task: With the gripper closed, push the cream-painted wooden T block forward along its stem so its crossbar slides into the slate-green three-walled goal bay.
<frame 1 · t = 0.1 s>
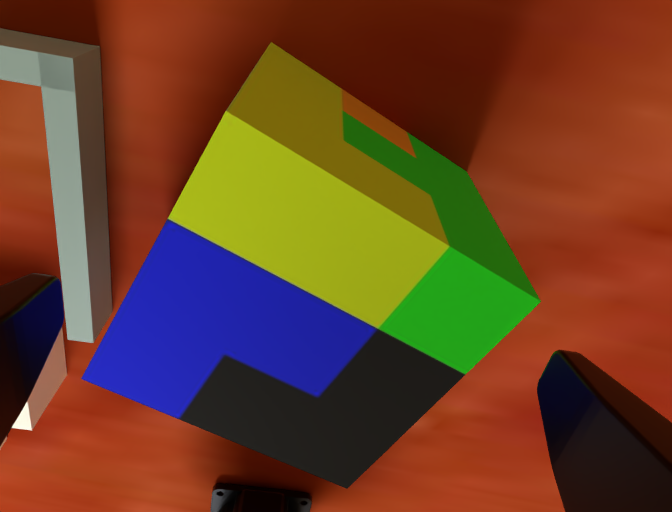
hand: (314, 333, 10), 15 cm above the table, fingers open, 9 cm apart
puzzle toy: (312, 199, 25), on the table
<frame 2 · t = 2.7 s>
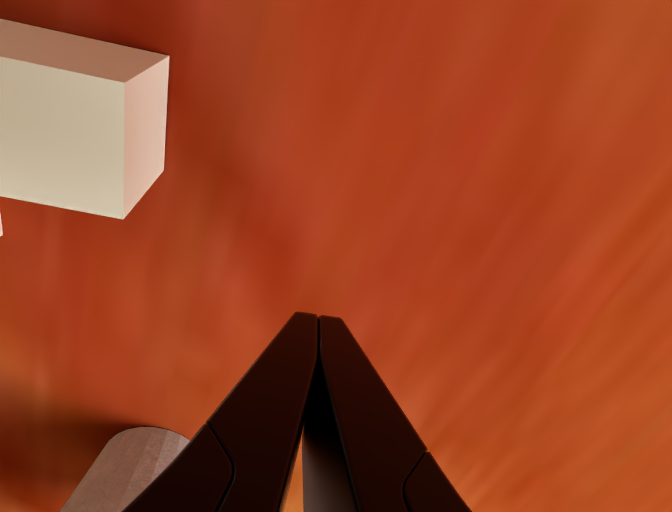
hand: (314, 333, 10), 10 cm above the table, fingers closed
house plant: (171, 445, 27), on the table
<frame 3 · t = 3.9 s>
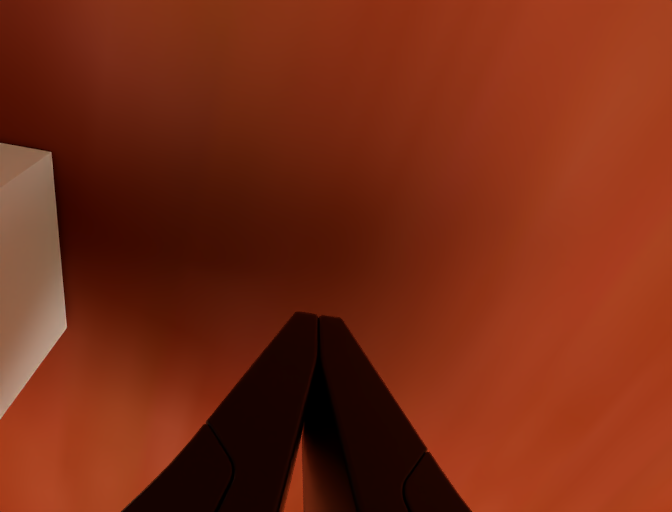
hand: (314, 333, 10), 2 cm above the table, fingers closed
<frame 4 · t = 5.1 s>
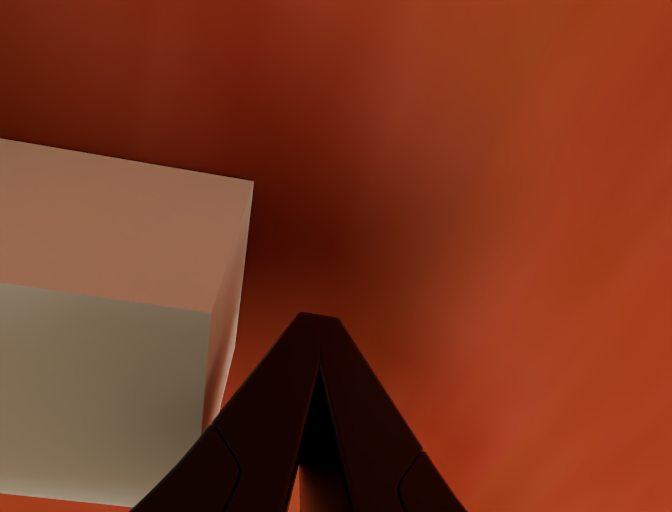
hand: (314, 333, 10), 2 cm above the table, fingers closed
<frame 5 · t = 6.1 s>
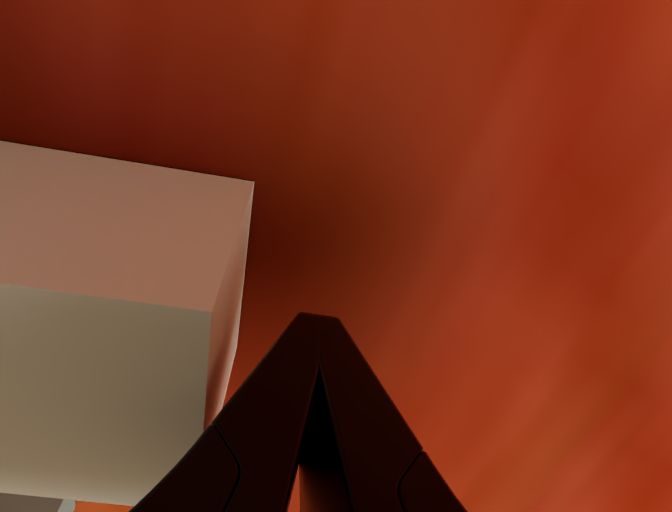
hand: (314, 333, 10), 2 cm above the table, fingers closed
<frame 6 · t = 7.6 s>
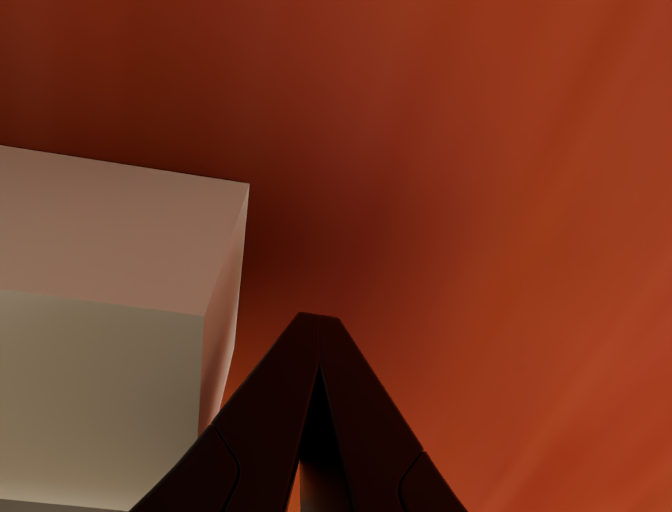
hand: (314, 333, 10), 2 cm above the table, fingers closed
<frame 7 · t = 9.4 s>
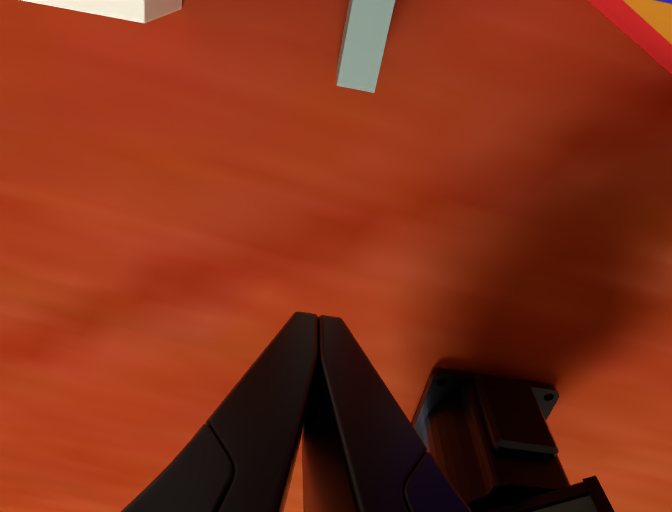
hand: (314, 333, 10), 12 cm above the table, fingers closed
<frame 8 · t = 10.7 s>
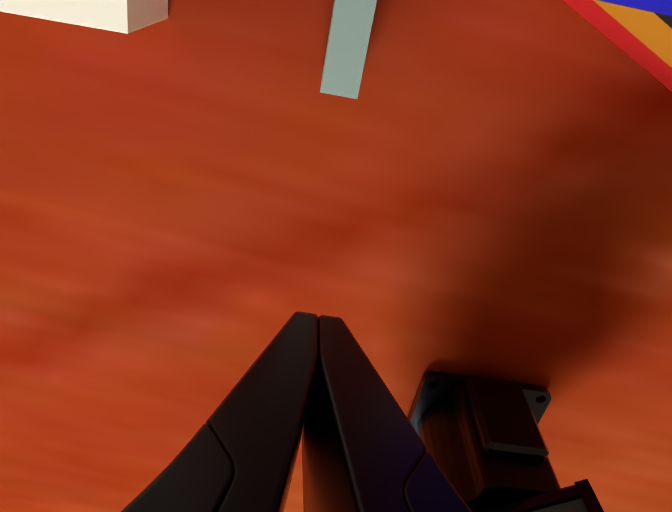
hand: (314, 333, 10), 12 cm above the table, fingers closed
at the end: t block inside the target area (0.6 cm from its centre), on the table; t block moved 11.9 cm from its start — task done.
